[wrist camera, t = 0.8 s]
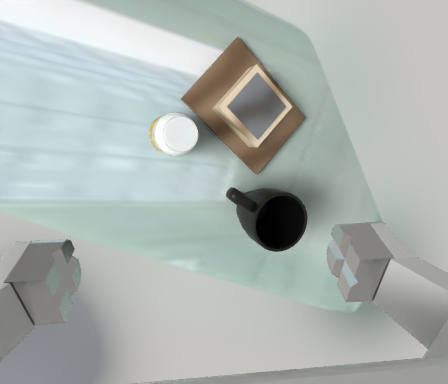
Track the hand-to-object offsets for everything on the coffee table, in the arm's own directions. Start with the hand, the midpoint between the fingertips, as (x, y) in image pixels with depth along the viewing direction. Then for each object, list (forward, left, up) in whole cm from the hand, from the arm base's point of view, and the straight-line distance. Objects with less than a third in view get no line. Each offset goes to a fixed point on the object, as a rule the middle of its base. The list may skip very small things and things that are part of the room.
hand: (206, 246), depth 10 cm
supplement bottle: (+1, +6, -37) cm, 37 cm away
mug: (+17, +6, -37) cm, 41 cm away
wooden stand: (+7, +17, -36) cm, 41 cm away
